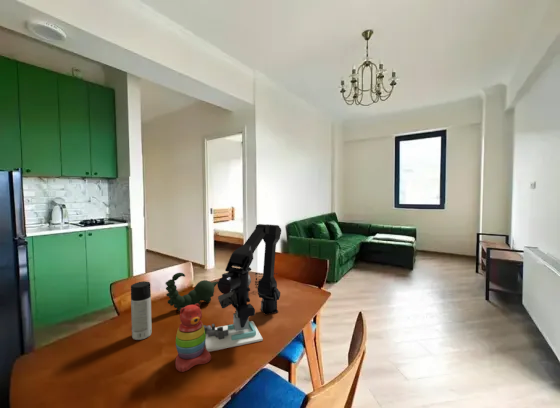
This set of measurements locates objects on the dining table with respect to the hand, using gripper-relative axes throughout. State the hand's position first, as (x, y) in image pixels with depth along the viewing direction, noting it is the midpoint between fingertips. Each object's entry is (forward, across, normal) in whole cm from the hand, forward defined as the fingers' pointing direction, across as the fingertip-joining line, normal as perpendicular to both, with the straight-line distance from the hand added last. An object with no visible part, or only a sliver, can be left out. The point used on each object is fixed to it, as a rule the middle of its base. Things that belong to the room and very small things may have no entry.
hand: (241, 324), depth 102 cm
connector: (+1, 0, 0) cm, 1 cm away
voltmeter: (+4, -43, +16) cm, 46 cm away
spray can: (+4, -12, -36) cm, 38 cm away
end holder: (+4, 0, 0) cm, 4 cm away
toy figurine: (+4, -32, -16) cm, 36 cm away
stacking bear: (+4, +9, -18) cm, 21 cm away
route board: (+4, 0, -4) cm, 5 cm away
